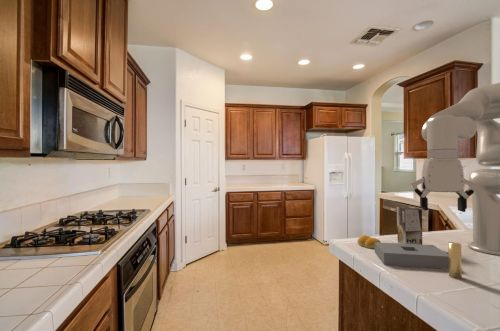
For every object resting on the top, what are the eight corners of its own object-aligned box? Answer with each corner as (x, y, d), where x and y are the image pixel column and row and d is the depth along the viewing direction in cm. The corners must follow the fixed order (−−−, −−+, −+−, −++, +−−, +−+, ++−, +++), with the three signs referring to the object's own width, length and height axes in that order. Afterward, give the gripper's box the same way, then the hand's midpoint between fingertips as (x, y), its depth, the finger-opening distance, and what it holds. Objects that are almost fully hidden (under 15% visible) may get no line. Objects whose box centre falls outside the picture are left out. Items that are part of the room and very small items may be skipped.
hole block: (433, 255, 92) (433, 245, 92) (451, 269, 80) (451, 256, 80) (374, 252, 96) (374, 242, 96) (384, 264, 85) (383, 252, 85)
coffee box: (423, 250, 98) (422, 209, 98) (405, 249, 100) (404, 209, 100) (413, 242, 107) (412, 205, 107) (396, 242, 109) (396, 205, 109)
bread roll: (374, 250, 99) (374, 240, 99) (354, 244, 107) (354, 235, 107) (385, 246, 104) (385, 237, 104) (365, 241, 111) (365, 232, 111)
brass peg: (458, 275, 76) (457, 242, 76) (464, 279, 73) (463, 245, 73) (446, 274, 77) (446, 241, 77) (452, 278, 74) (451, 244, 74)
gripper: (469, 155, 79) (470, 209, 78) (406, 156, 84) (407, 207, 84) (483, 154, 71) (484, 214, 71) (413, 155, 77) (414, 211, 77)
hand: (442, 210), depth 78 cm, fingers open, 9 cm apart
